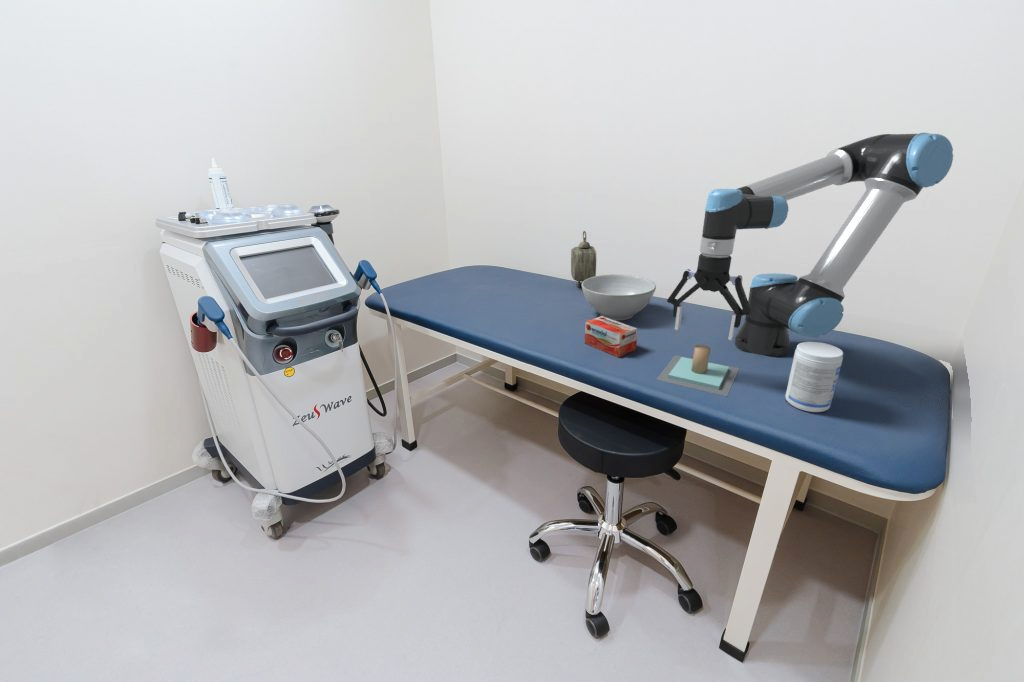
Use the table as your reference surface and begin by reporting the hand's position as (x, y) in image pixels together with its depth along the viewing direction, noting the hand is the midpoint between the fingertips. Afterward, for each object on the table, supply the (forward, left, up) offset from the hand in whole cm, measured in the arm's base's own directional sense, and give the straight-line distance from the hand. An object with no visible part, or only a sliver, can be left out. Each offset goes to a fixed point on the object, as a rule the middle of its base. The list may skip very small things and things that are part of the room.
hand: (703, 333), depth 123 cm
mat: (0, 0, -13) cm, 13 cm away
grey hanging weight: (-62, -65, -13) cm, 91 cm away
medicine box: (-6, -29, -13) cm, 32 cm away
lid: (0, 0, -12) cm, 12 cm away
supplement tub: (+2, +26, -13) cm, 29 cm away
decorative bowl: (-35, -38, -13) cm, 53 cm away
